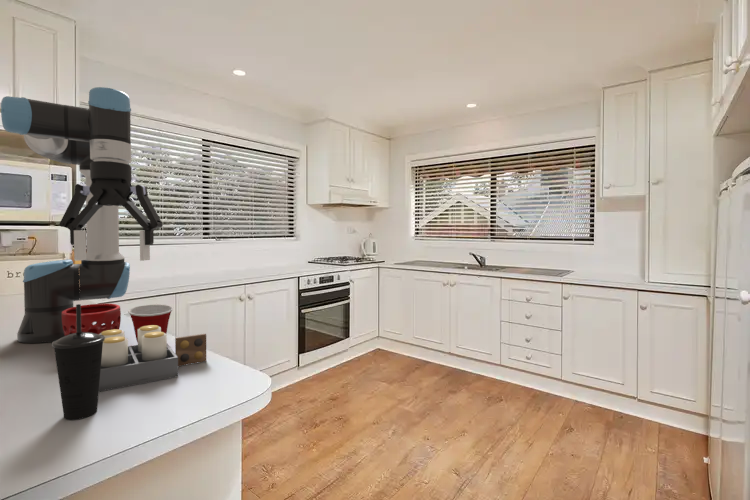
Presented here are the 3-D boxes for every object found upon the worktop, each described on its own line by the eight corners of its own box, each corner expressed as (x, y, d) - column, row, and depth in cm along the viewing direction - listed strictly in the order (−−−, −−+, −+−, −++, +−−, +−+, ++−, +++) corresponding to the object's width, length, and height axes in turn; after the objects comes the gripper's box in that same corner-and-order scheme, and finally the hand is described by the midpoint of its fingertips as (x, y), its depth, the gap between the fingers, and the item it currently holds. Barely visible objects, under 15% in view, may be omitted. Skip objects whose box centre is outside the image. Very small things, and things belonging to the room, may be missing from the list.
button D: (140, 356, 92) (140, 333, 92) (164, 352, 95) (164, 330, 95) (143, 361, 88) (143, 337, 88) (168, 357, 91) (168, 334, 91)
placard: (175, 365, 98) (175, 337, 98) (205, 360, 103) (205, 333, 102) (176, 366, 97) (176, 338, 97) (206, 361, 102) (206, 334, 101)
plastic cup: (128, 359, 102) (128, 313, 102) (128, 348, 111) (127, 306, 111) (175, 353, 108) (175, 309, 108) (171, 343, 117) (171, 303, 117)
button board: (90, 370, 94) (89, 351, 94) (165, 358, 104) (165, 341, 104) (92, 392, 81) (92, 371, 81) (178, 376, 91) (178, 357, 91)
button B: (136, 348, 98) (136, 326, 98) (159, 344, 101) (159, 323, 101) (139, 353, 94) (138, 330, 94) (162, 349, 97) (162, 327, 97)
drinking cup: (72, 405, 76) (70, 300, 75) (114, 404, 76) (113, 300, 75) (42, 424, 68) (39, 308, 67) (89, 423, 69) (87, 308, 68)
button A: (98, 353, 94) (98, 330, 93) (123, 349, 97) (123, 327, 96) (99, 359, 90) (99, 335, 89) (125, 355, 93) (125, 332, 92)
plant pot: (62, 349, 110) (61, 306, 110) (119, 341, 118) (118, 301, 118) (62, 361, 100) (60, 314, 99) (123, 352, 108) (122, 308, 107)
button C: (100, 362, 87) (99, 338, 87) (126, 358, 90) (126, 334, 90) (101, 368, 83) (100, 343, 83) (129, 364, 86) (128, 339, 86)
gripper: (37, 158, 82) (39, 261, 83) (162, 160, 84) (163, 261, 84) (63, 165, 89) (65, 259, 90) (177, 166, 91) (178, 259, 92)
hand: (112, 260), depth 87 cm, fingers open, 13 cm apart
